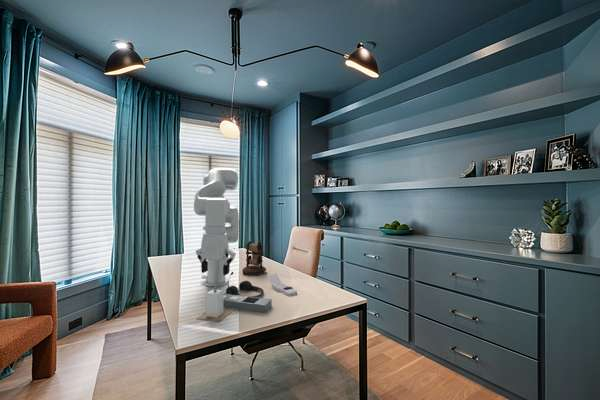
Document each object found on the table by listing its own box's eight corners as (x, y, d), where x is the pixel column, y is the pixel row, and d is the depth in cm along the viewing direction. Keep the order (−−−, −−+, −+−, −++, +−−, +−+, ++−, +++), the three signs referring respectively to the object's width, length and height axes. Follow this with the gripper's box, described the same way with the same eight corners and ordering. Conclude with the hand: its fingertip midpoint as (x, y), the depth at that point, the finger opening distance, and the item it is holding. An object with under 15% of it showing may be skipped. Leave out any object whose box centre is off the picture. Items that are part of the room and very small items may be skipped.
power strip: (208, 307, 115) (208, 297, 115) (217, 301, 122) (218, 292, 122) (265, 315, 108) (265, 304, 108) (271, 308, 115) (271, 298, 115)
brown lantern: (269, 271, 175) (269, 240, 175) (259, 277, 161) (259, 243, 161) (249, 269, 179) (249, 239, 179) (237, 275, 165) (238, 242, 165)
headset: (239, 269, 140) (270, 279, 131) (237, 287, 141) (268, 298, 131) (220, 275, 129) (252, 287, 119) (218, 295, 129) (250, 308, 120)
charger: (206, 316, 104) (206, 288, 104) (213, 311, 109) (213, 285, 109) (216, 317, 103) (217, 290, 103) (223, 312, 108) (223, 286, 108)
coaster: (196, 321, 102) (196, 318, 102) (211, 311, 112) (211, 308, 112) (219, 324, 100) (219, 321, 100) (232, 313, 109) (232, 310, 109)
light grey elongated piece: (275, 273, 149) (300, 285, 128) (275, 283, 149) (300, 297, 128) (266, 274, 146) (289, 287, 125) (266, 285, 146) (289, 300, 125)
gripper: (190, 230, 105) (190, 273, 105) (230, 232, 100) (229, 278, 100) (202, 227, 112) (202, 268, 112) (239, 229, 107) (239, 272, 108)
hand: (215, 273), depth 106 cm, fingers open, 9 cm apart
